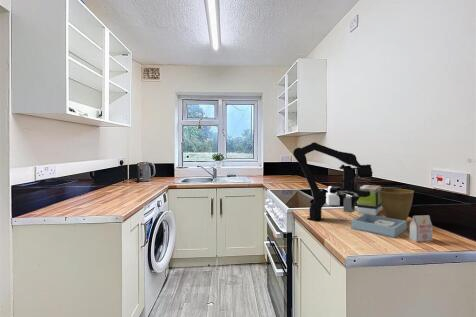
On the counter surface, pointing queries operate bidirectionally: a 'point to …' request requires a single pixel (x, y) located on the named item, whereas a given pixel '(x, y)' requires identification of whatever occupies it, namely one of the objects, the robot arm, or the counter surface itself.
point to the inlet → (385, 223)
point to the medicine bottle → (332, 197)
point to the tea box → (370, 201)
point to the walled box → (368, 225)
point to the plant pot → (396, 202)
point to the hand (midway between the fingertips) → (349, 208)
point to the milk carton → (421, 229)
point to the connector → (348, 205)
